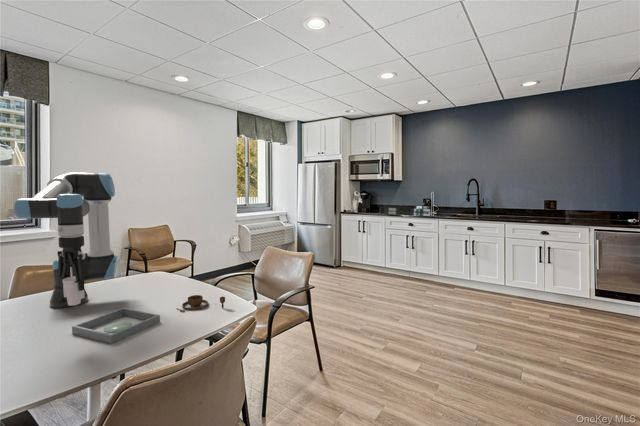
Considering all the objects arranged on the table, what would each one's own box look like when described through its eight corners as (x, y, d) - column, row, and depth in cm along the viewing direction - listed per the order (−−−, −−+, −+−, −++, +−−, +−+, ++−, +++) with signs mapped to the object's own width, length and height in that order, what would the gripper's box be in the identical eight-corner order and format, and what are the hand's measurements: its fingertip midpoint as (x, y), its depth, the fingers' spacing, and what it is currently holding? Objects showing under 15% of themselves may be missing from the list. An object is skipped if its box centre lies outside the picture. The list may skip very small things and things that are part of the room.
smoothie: (71, 300, 125) (69, 264, 124) (88, 300, 126) (87, 264, 124) (59, 307, 119) (57, 269, 118) (77, 306, 119) (75, 269, 118)
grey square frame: (72, 333, 129) (71, 326, 129) (123, 314, 149) (123, 307, 149) (111, 343, 121) (110, 335, 121) (160, 321, 141) (159, 314, 141)
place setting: (205, 299, 171) (205, 288, 171) (227, 308, 159) (227, 297, 158) (172, 308, 158) (172, 296, 157) (193, 319, 145) (193, 306, 145)
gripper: (43, 235, 120) (47, 296, 122) (77, 239, 113) (80, 304, 115) (66, 233, 127) (69, 291, 129) (99, 236, 120) (101, 298, 122)
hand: (74, 297), depth 122 cm, fingers closed on smoothie, 6 cm apart
